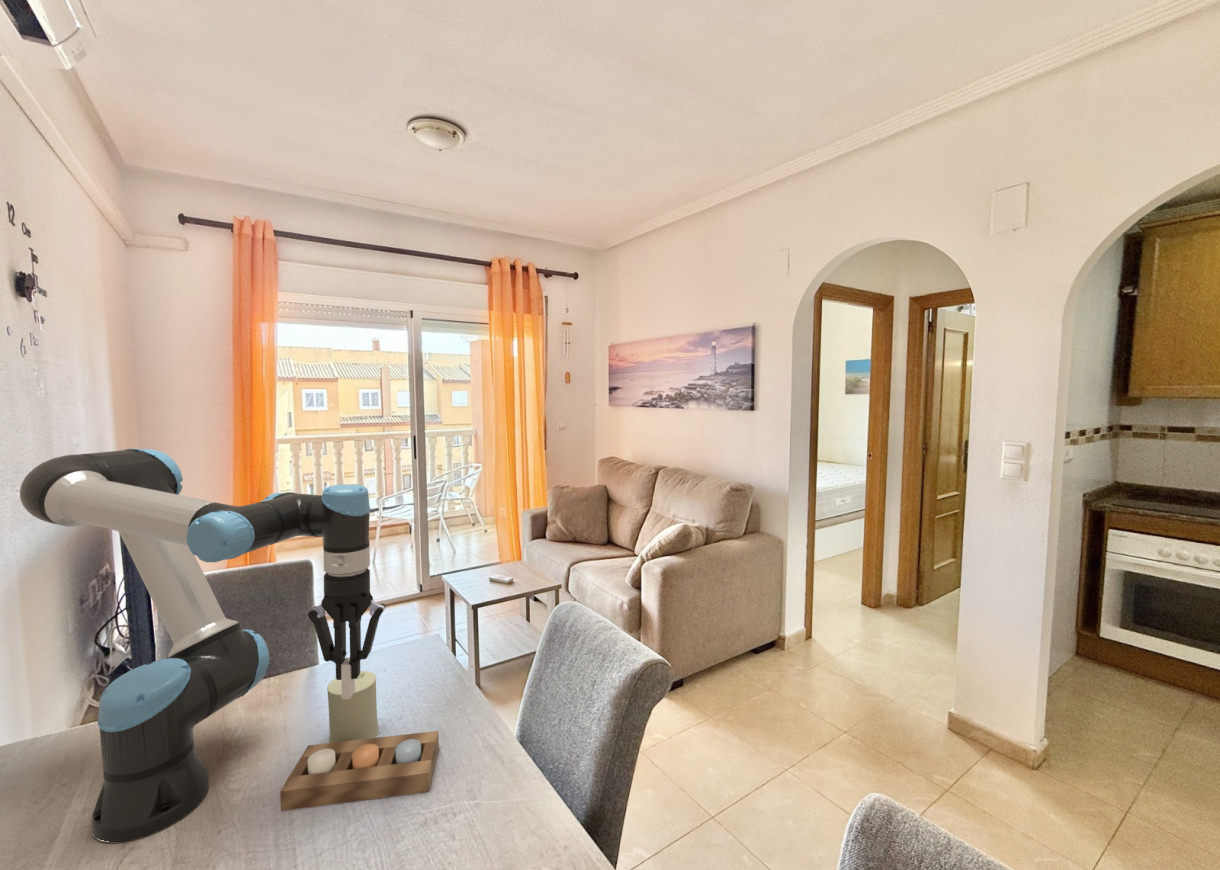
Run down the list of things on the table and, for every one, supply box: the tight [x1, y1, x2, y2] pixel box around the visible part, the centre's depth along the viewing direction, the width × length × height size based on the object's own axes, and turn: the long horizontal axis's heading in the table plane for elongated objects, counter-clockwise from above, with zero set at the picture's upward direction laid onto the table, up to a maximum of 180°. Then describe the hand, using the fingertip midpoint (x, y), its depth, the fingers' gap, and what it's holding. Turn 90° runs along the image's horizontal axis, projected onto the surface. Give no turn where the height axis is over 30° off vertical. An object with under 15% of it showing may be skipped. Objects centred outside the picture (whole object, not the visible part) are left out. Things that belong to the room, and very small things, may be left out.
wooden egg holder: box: [279, 730, 440, 812], centre depth 97 cm, size 24×12×4 cm, turn 100°
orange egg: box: [352, 744, 379, 769], centre depth 97 cm, size 4×4×5 cm
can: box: [326, 670, 379, 743], centre depth 108 cm, size 9×9×12 cm
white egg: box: [308, 749, 336, 775], centre depth 95 cm, size 4×4×5 cm
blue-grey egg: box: [396, 739, 421, 764], centre depth 98 cm, size 4×4×5 cm
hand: (348, 694), depth 97 cm, fingers closed
